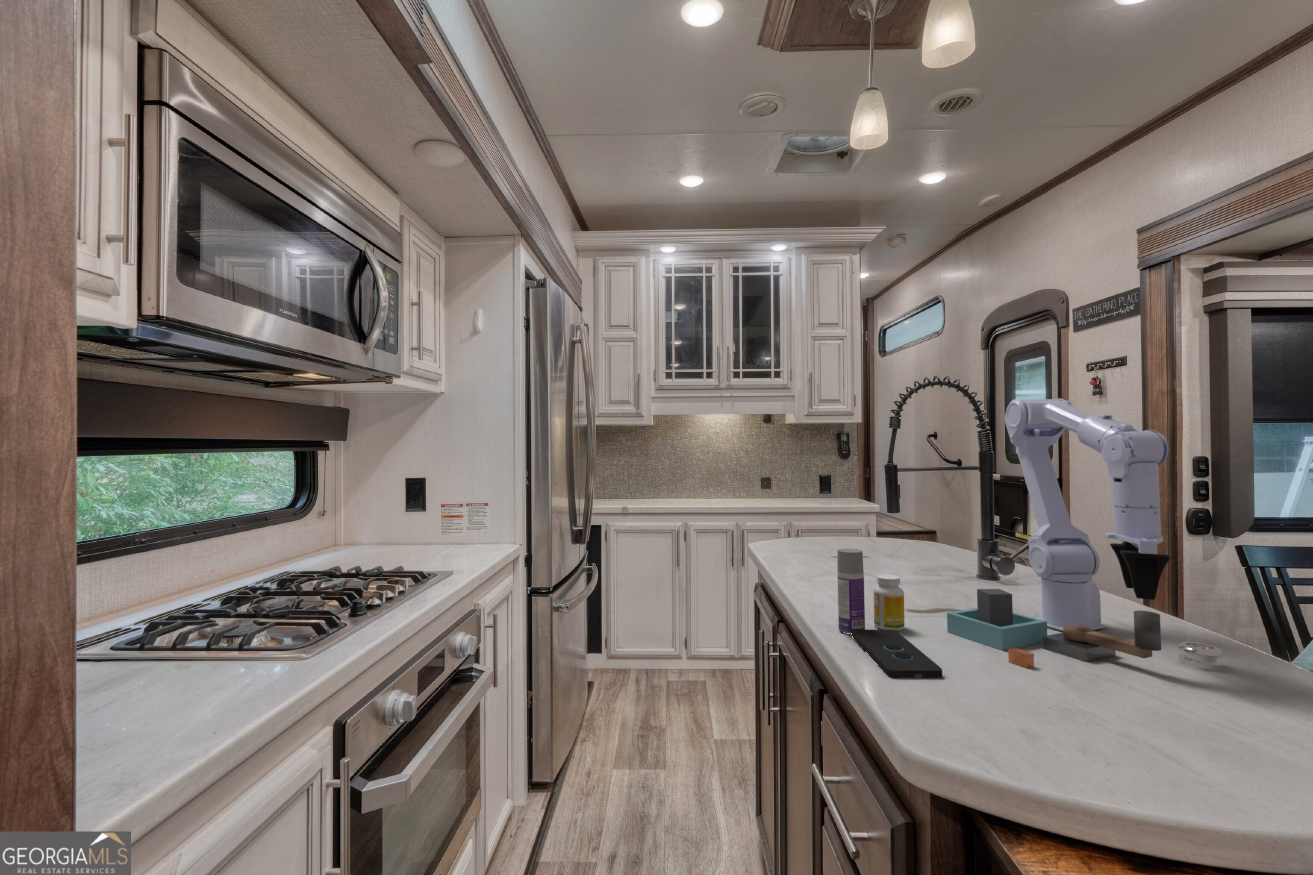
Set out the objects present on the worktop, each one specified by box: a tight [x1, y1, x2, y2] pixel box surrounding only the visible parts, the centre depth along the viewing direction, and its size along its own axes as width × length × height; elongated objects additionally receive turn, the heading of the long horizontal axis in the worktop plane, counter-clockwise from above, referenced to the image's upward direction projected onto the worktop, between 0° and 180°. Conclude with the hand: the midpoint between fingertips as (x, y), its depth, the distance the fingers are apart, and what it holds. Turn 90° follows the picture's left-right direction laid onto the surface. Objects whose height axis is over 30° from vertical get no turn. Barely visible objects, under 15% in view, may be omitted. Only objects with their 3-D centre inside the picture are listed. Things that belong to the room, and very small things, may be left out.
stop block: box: [976, 588, 1014, 627], centre depth 104 cm, size 4×4×7 cm
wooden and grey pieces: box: [1007, 632, 1117, 669], centre depth 94 cm, size 18×7×2 cm, turn 112°
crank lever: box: [1062, 610, 1162, 659], centre depth 91 cm, size 14×4×6 cm, turn 22°
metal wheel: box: [1177, 641, 1224, 671], centre depth 90 cm, size 5×3×5 cm
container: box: [837, 548, 866, 634], centre depth 109 cm, size 5×5×15 cm
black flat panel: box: [851, 629, 943, 679], centre depth 96 cm, size 8×2×20 cm
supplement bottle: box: [873, 574, 905, 632], centre depth 111 cm, size 5×5×10 cm
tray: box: [946, 607, 1048, 651], centre depth 104 cm, size 11×11×4 cm
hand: (1139, 593), depth 92 cm, fingers open, 7 cm apart
